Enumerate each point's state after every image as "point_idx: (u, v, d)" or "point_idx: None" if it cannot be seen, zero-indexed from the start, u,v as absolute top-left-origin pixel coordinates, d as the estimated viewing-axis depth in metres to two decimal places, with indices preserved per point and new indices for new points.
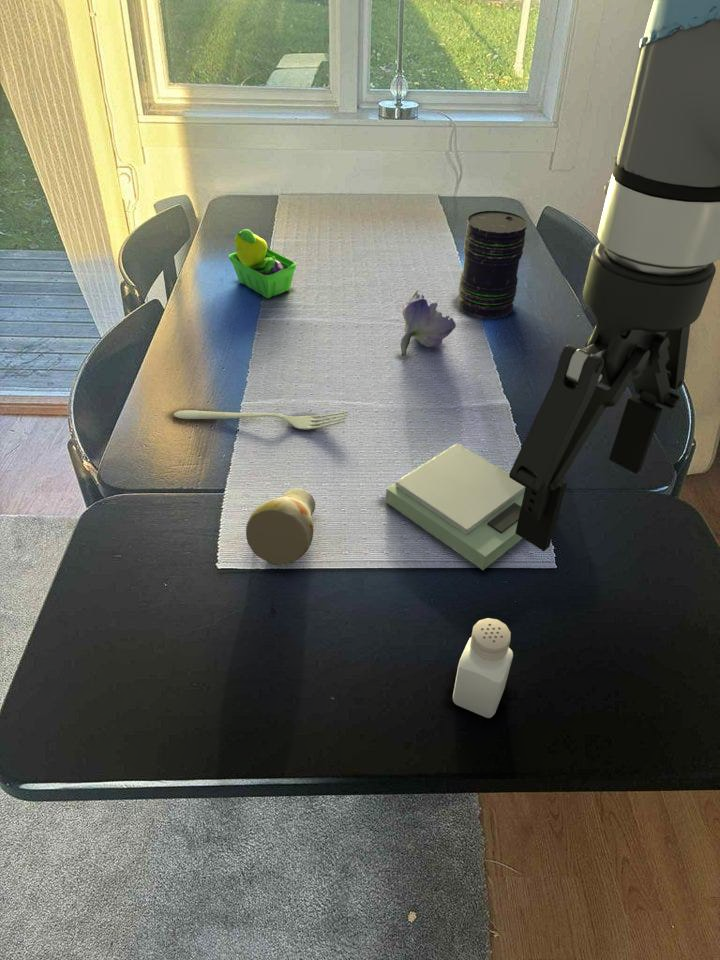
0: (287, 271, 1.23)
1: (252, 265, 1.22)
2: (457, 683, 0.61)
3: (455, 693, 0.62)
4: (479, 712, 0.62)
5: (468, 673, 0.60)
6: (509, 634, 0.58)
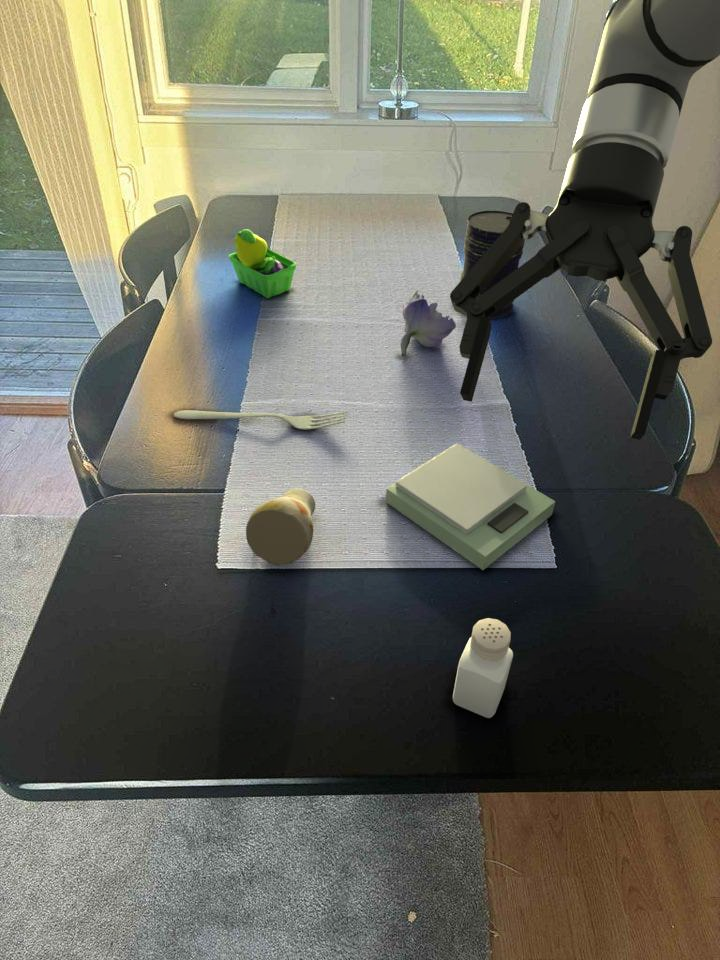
0: (287, 271, 1.23)
1: (252, 265, 1.22)
2: (457, 683, 0.61)
3: (455, 693, 0.62)
4: (479, 712, 0.62)
5: (468, 673, 0.60)
6: (509, 634, 0.58)
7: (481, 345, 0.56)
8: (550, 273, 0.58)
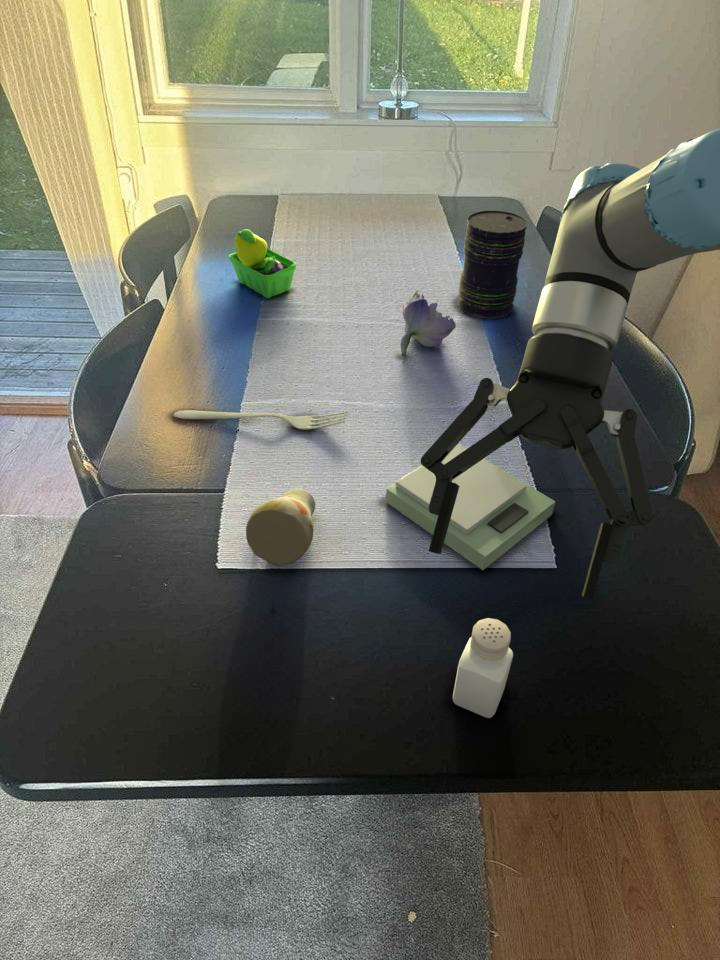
0: (287, 271, 1.23)
1: (252, 265, 1.22)
2: (457, 683, 0.61)
3: (455, 693, 0.62)
4: (479, 712, 0.62)
5: (468, 673, 0.60)
6: (509, 634, 0.58)
7: (448, 508, 0.62)
8: (512, 439, 0.64)
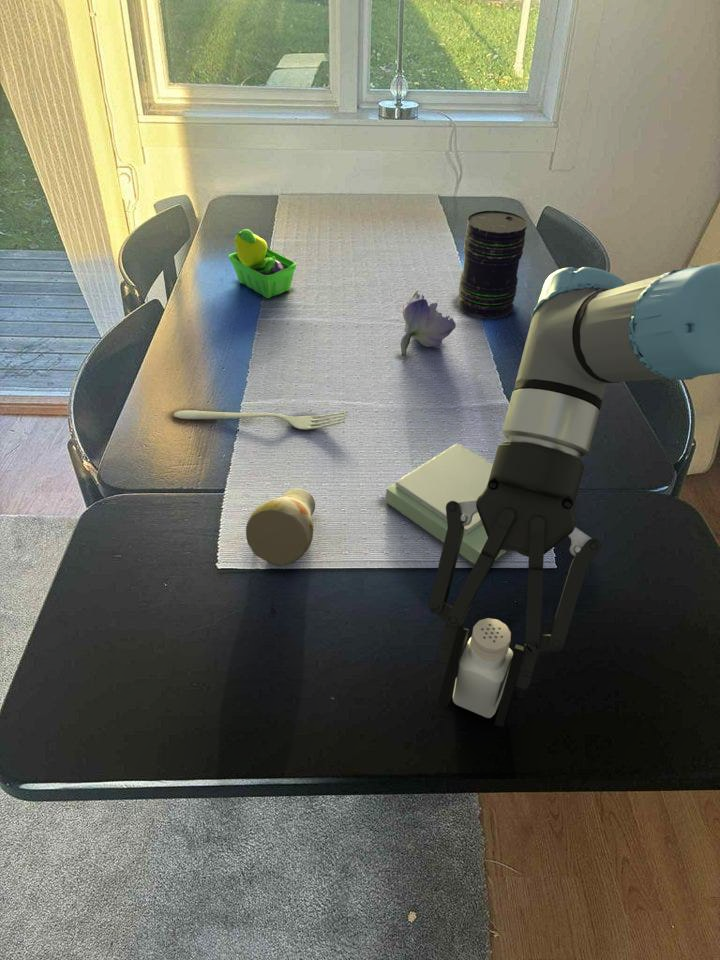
0: (287, 271, 1.23)
1: (252, 265, 1.22)
2: (457, 683, 0.61)
3: (455, 693, 0.62)
4: (479, 712, 0.62)
5: (468, 673, 0.60)
6: (509, 634, 0.58)
7: (457, 659, 0.59)
8: (498, 553, 0.62)
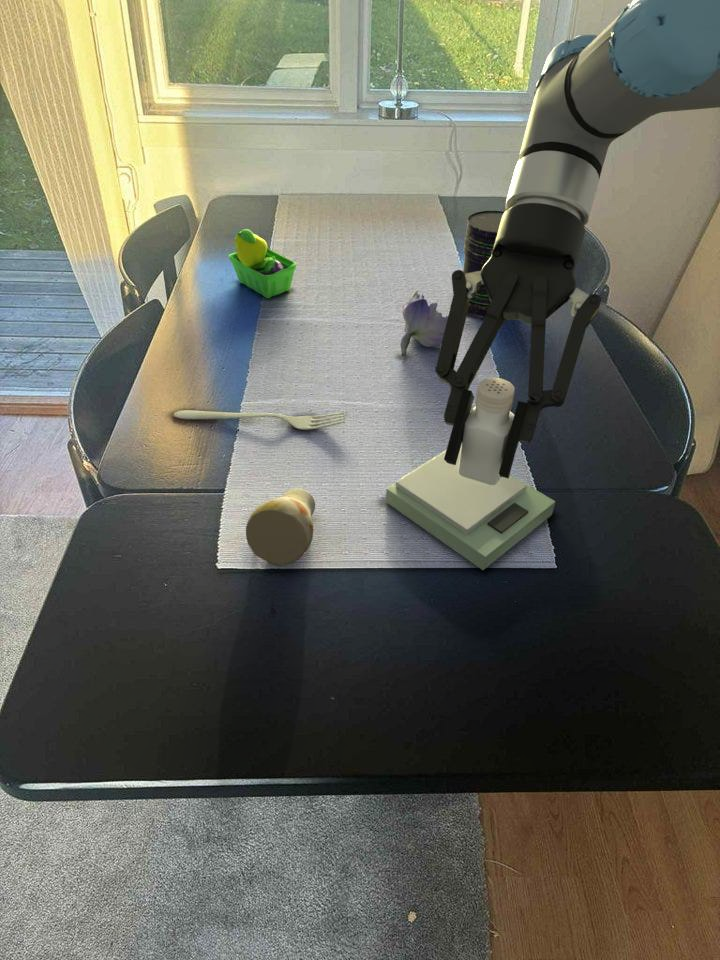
0: (287, 271, 1.23)
1: (252, 265, 1.22)
2: (463, 447, 0.64)
3: (461, 461, 0.65)
4: (484, 479, 0.65)
5: (474, 431, 0.62)
6: (513, 388, 0.61)
7: (463, 416, 0.62)
8: (502, 324, 0.64)
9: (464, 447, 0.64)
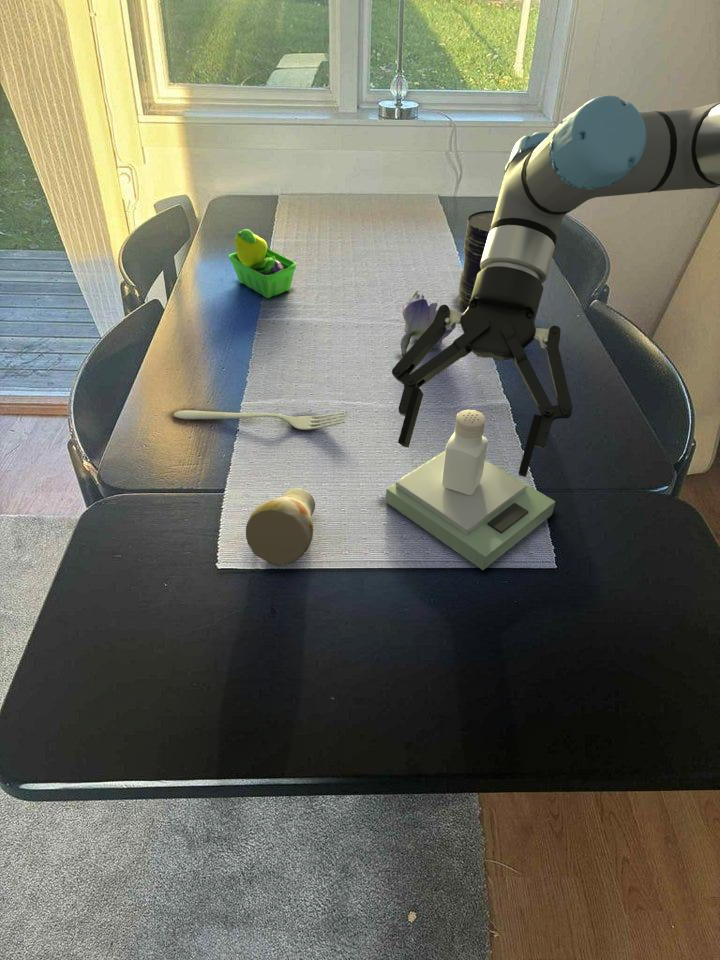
0: (287, 271, 1.23)
1: (252, 265, 1.22)
2: (445, 465, 0.80)
3: (443, 475, 0.81)
4: (462, 490, 0.81)
5: (453, 452, 0.78)
6: (484, 418, 0.76)
7: (413, 408, 0.78)
8: (465, 354, 0.80)
9: (446, 464, 0.79)
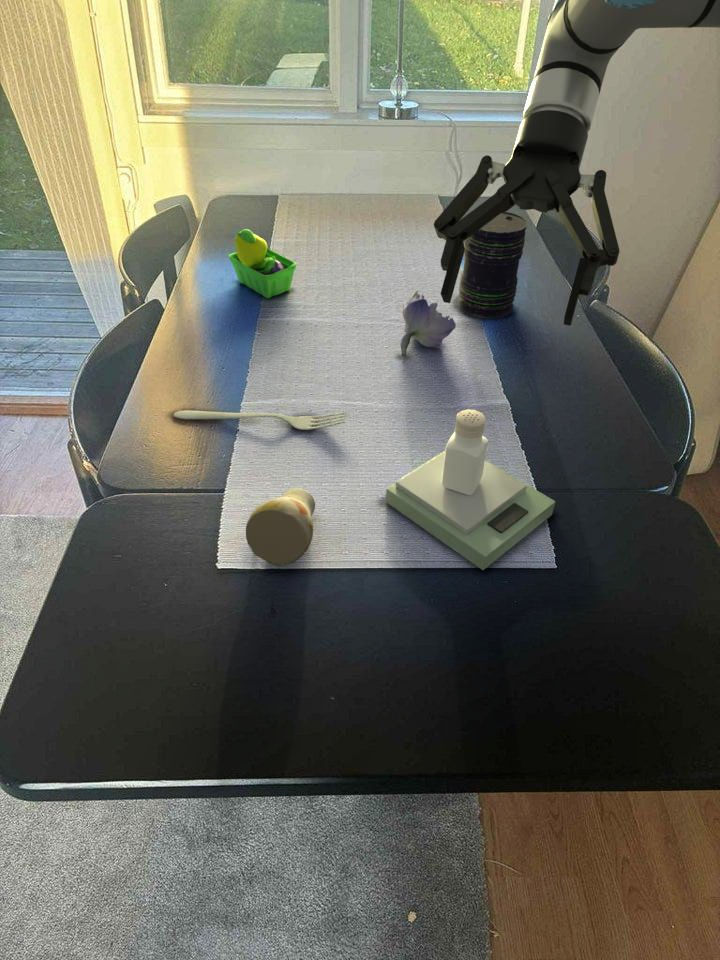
0: (287, 271, 1.23)
1: (252, 265, 1.22)
2: (445, 465, 0.80)
3: (443, 475, 0.81)
4: (462, 490, 0.81)
5: (453, 452, 0.78)
6: (484, 418, 0.76)
7: (456, 258, 0.77)
8: (507, 208, 0.79)
9: (446, 464, 0.79)
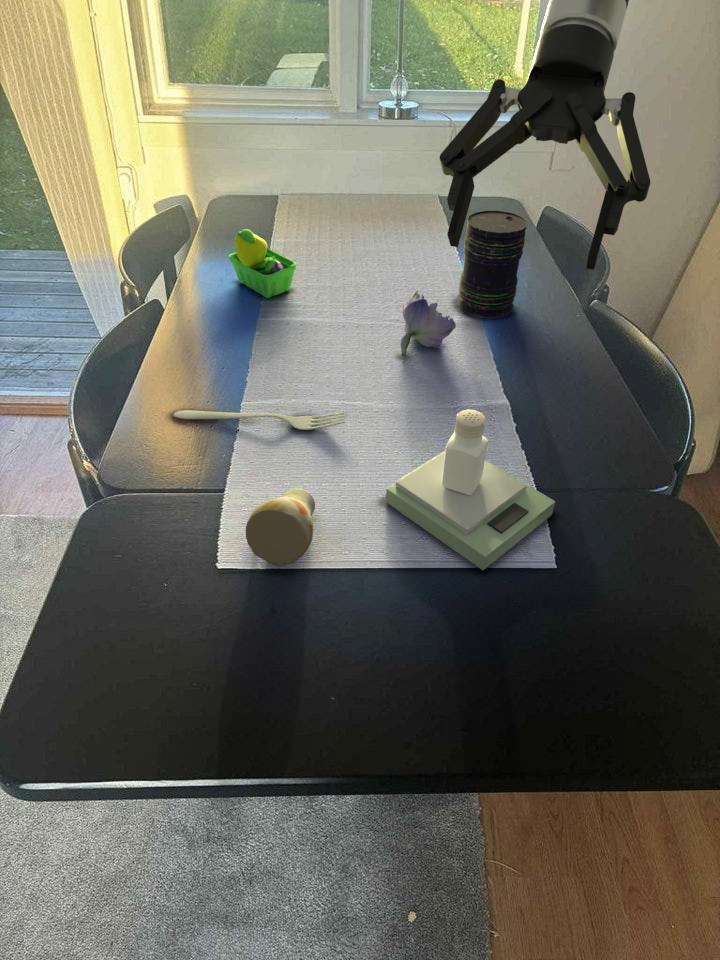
0: (287, 271, 1.23)
1: (252, 265, 1.22)
2: (445, 465, 0.80)
3: (443, 475, 0.81)
4: (462, 490, 0.81)
5: (453, 452, 0.78)
6: (484, 418, 0.76)
7: (464, 195, 0.69)
8: (522, 140, 0.71)
9: (446, 464, 0.79)
